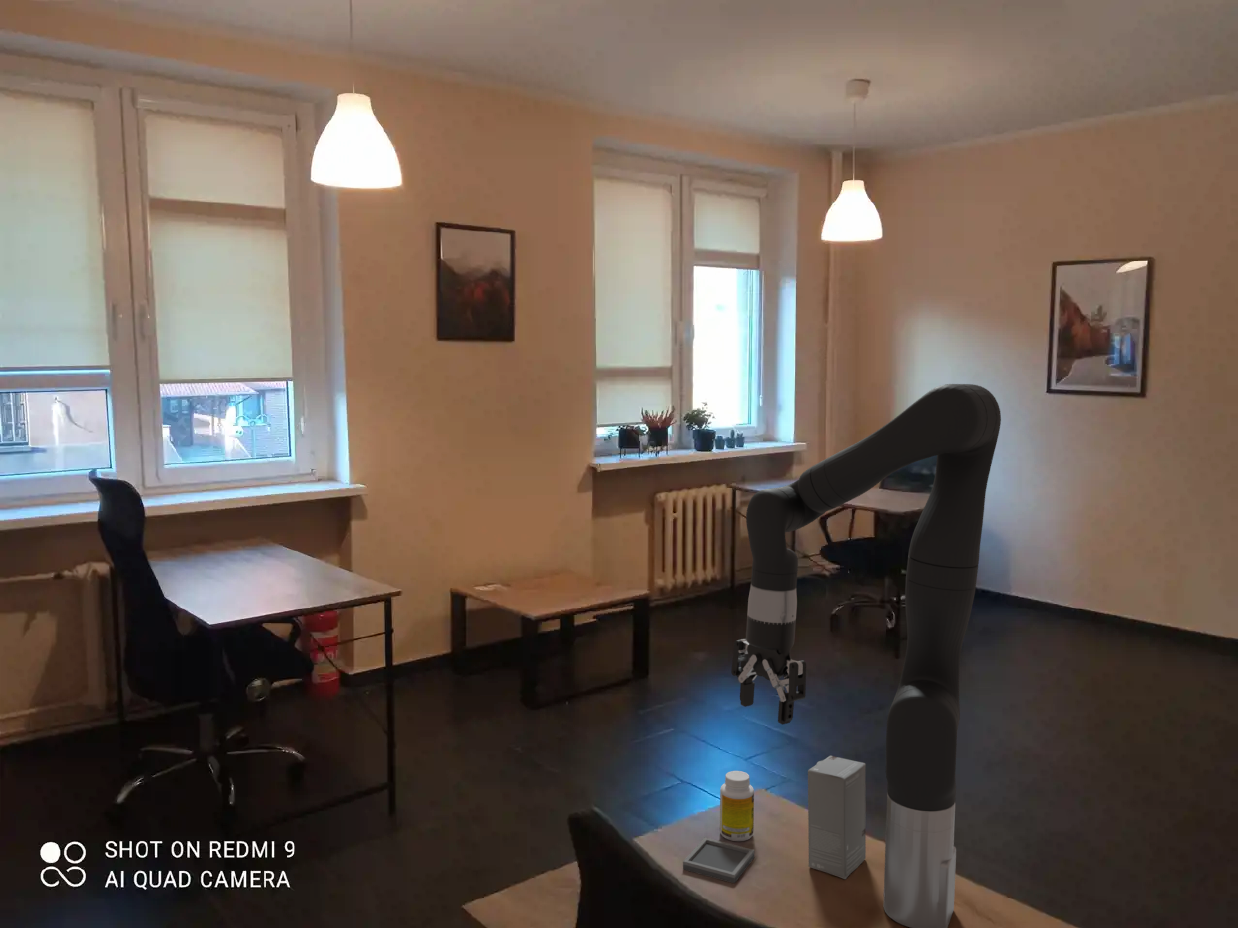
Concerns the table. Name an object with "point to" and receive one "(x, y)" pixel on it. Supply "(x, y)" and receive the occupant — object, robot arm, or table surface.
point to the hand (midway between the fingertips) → (765, 713)
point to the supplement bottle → (736, 807)
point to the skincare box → (836, 816)
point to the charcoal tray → (719, 860)
